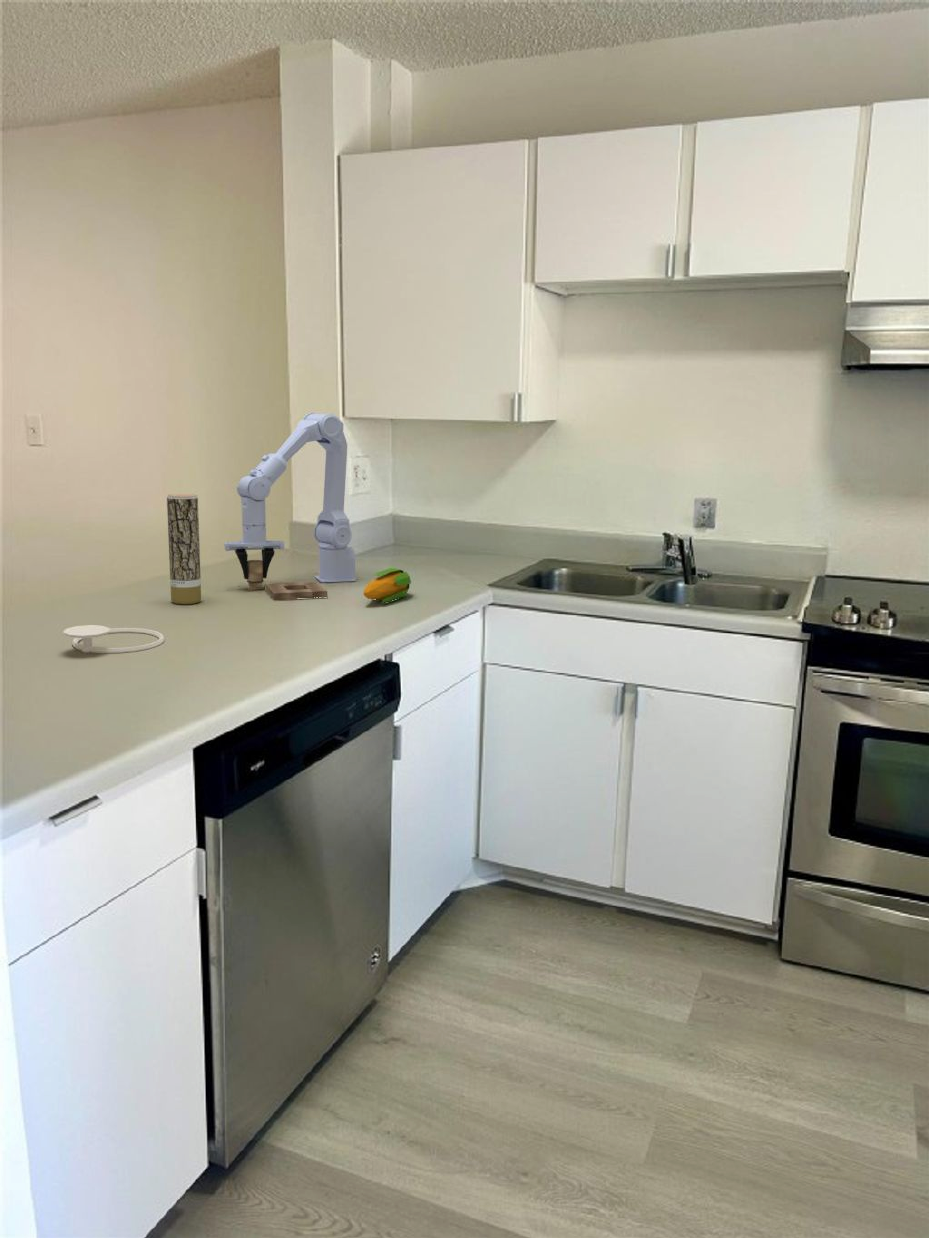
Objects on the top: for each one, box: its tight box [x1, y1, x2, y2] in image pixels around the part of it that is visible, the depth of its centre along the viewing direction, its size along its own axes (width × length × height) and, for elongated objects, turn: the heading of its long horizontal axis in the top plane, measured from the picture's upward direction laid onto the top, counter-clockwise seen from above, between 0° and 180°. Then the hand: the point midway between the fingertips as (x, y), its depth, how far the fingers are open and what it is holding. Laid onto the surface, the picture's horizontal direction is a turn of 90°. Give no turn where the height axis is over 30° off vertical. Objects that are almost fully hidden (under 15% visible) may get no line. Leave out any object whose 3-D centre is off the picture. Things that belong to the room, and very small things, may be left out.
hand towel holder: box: [62, 624, 165, 655], centre depth 176 cm, size 17×4×21 cm
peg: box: [246, 559, 264, 591], centre depth 232 cm, size 4×4×7 cm
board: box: [264, 581, 328, 601], centre depth 227 cm, size 13×12×2 cm
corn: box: [362, 567, 412, 604], centre depth 223 cm, size 7×8×20 cm
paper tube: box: [166, 493, 202, 605], centre depth 212 cm, size 7×7×25 cm
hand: (255, 578), depth 232 cm, fingers closed on peg, 4 cm apart
